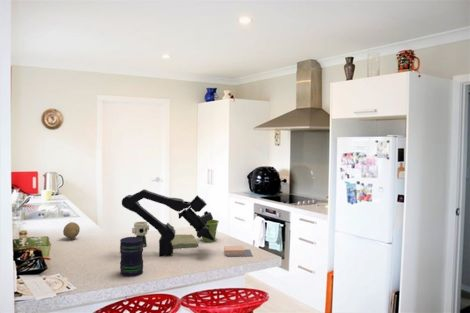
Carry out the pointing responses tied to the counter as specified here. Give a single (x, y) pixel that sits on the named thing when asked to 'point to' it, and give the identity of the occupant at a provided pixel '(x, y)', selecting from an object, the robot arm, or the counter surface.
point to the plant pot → (211, 229)
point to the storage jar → (131, 256)
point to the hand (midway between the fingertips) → (213, 239)
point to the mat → (247, 253)
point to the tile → (234, 250)
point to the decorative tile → (184, 241)
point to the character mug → (141, 230)
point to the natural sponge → (71, 230)
